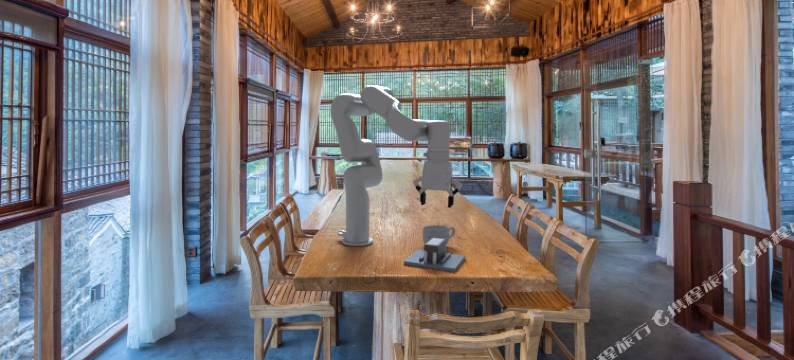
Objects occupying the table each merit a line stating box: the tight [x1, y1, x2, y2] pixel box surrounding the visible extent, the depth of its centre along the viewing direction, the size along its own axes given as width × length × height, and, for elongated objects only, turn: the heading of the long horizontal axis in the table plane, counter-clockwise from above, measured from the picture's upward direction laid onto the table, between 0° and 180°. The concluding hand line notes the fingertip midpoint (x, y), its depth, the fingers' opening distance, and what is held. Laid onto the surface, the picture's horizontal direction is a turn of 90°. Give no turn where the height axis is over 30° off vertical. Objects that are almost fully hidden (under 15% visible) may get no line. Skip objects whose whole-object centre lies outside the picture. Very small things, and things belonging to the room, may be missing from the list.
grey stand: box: [403, 249, 466, 273], centre depth 145 cm, size 18×15×5 cm
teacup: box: [422, 224, 456, 246], centre depth 164 cm, size 14×11×8 cm
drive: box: [423, 238, 447, 263], centre depth 145 cm, size 5×10×6 cm, turn 159°
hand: (436, 205), depth 143 cm, fingers open, 9 cm apart
